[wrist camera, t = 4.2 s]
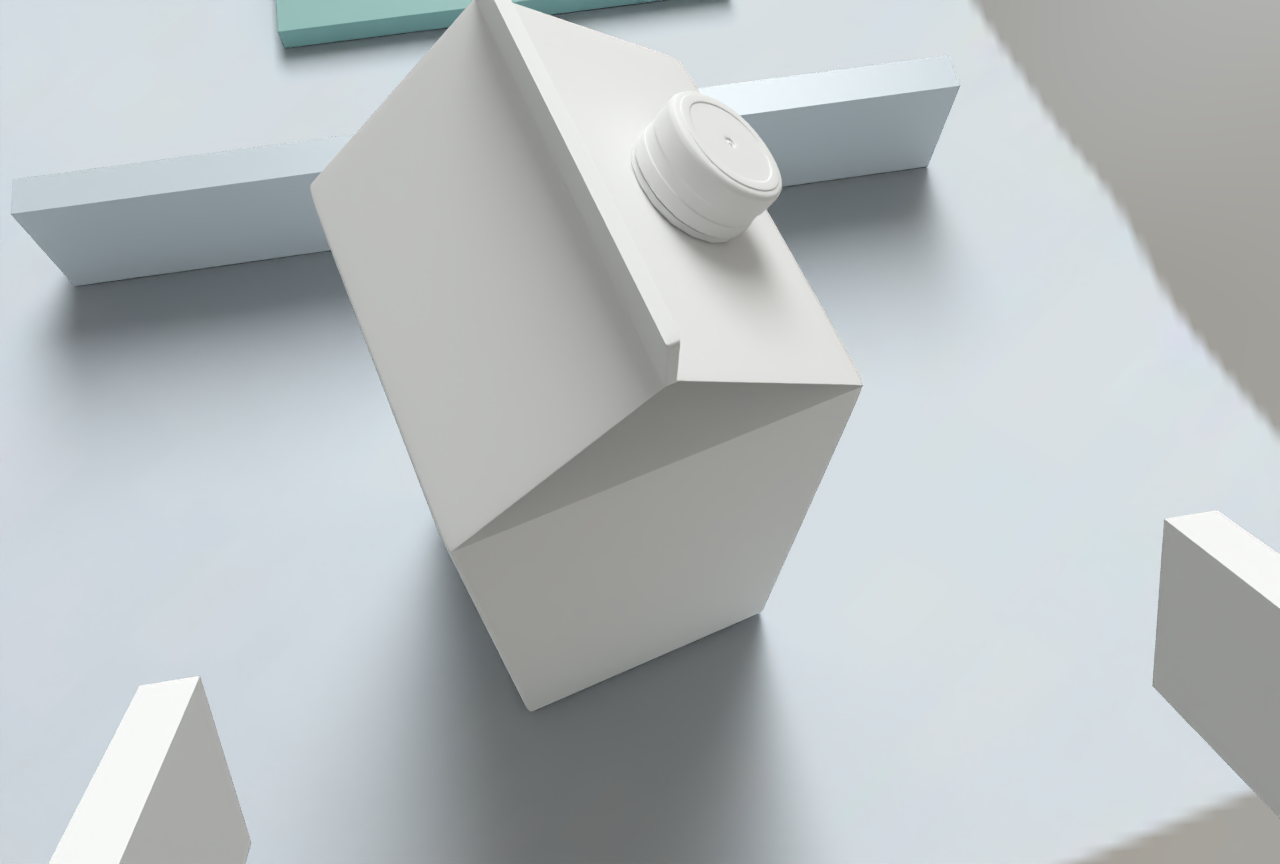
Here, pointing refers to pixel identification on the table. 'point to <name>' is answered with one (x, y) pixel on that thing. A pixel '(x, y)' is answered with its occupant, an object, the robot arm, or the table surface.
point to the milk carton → (586, 339)
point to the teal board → (391, 16)
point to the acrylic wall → (282, 173)
